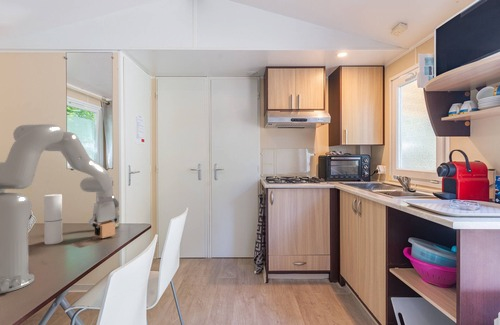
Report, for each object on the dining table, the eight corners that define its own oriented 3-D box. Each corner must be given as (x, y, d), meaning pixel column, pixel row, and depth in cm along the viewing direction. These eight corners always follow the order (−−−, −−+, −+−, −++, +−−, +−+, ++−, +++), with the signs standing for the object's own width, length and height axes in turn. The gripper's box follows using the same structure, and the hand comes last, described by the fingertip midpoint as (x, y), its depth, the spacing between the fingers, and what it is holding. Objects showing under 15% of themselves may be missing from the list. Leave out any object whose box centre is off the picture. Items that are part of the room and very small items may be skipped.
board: (108, 236, 143) (108, 233, 143) (119, 239, 139) (119, 236, 139) (68, 247, 126) (68, 244, 126) (80, 250, 121) (80, 247, 121)
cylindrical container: (52, 247, 125) (52, 196, 125) (40, 246, 127) (40, 195, 126) (66, 243, 132) (65, 194, 132) (54, 242, 134) (54, 194, 133)
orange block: (107, 232, 141) (107, 221, 141) (115, 234, 138) (115, 222, 138) (94, 236, 135) (94, 223, 135) (102, 238, 132) (102, 225, 132)
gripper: (115, 197, 146) (115, 228, 146) (83, 201, 131) (83, 236, 131) (124, 198, 142) (124, 230, 142) (91, 202, 127) (92, 238, 127)
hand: (104, 233), depth 137 cm, fingers closed on orange block, 7 cm apart
